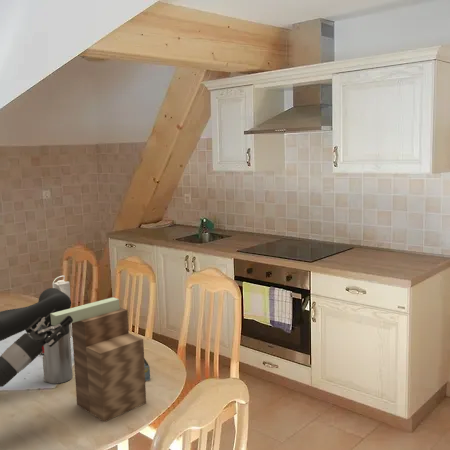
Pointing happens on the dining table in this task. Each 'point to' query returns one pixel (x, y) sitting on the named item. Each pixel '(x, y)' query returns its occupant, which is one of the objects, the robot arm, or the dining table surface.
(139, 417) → the dining table surface
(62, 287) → the white water bottle
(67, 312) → the sage bar
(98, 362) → the display stand
